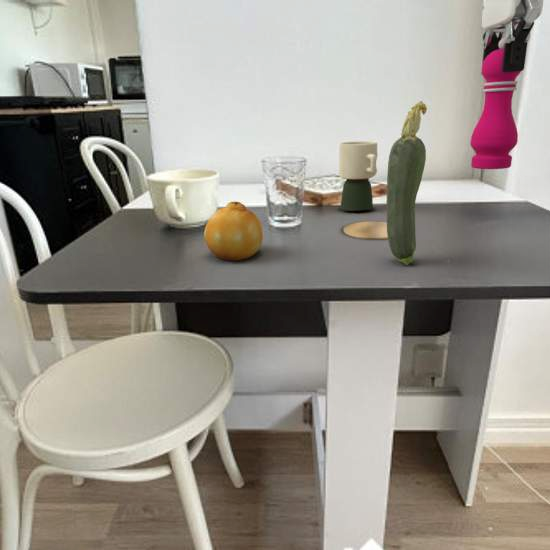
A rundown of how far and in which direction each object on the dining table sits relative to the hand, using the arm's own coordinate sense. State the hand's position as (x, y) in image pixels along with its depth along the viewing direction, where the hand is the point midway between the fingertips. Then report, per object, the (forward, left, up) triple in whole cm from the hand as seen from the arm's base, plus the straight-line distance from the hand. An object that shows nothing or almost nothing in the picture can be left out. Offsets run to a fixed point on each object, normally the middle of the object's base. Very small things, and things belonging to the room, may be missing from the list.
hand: (501, 72), depth 71 cm
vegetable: (+17, +26, -24) cm, 39 cm away
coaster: (+20, +11, -24) cm, 33 cm away
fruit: (+40, +24, -24) cm, 53 cm away
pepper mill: (0, 0, -15) cm, 15 cm away
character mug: (+22, -4, -24) cm, 33 cm away
